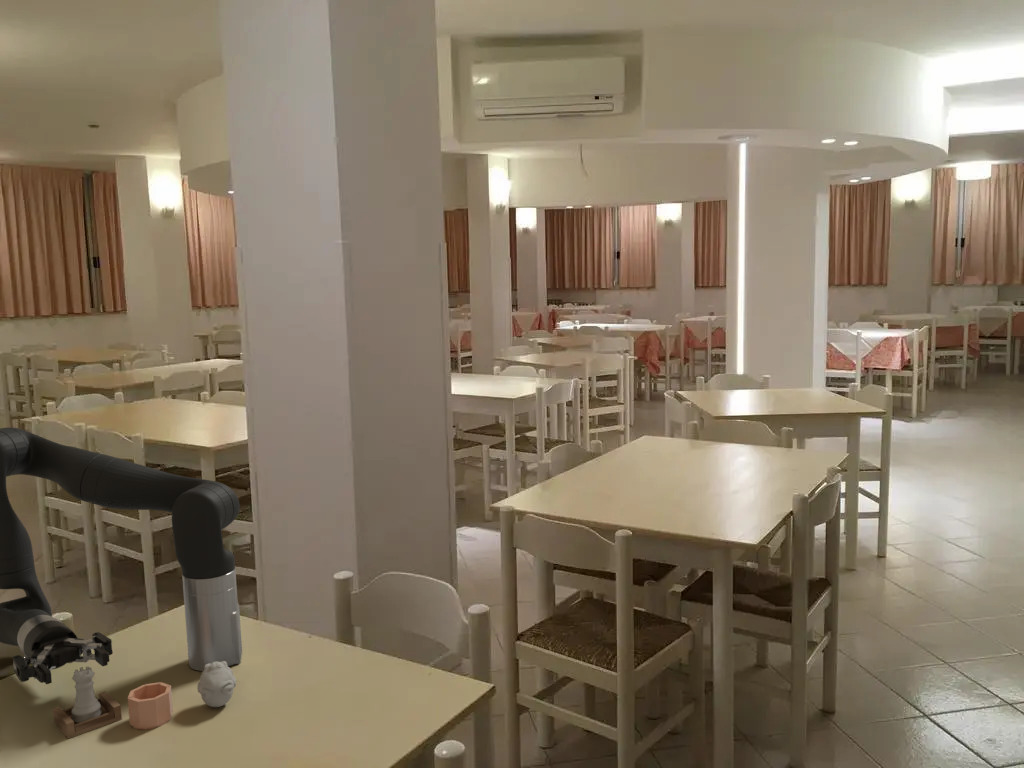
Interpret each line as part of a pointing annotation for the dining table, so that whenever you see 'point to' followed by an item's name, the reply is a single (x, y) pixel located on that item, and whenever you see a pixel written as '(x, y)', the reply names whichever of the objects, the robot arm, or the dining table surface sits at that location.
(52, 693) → the dining table surface
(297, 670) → the dining table surface
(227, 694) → the frog figurine
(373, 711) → the dining table surface
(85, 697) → the rook chess piece
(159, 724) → the cup
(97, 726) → the trough
